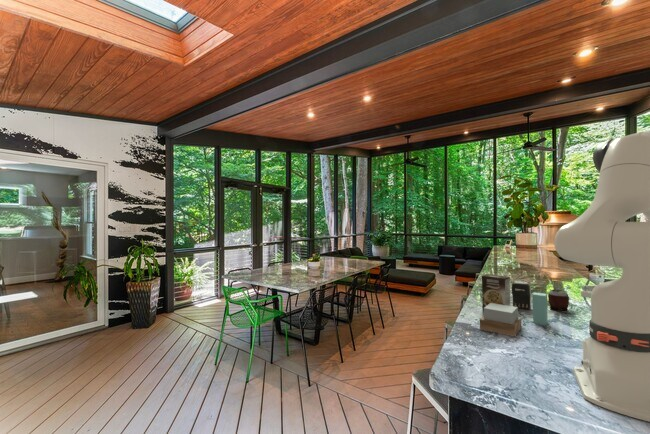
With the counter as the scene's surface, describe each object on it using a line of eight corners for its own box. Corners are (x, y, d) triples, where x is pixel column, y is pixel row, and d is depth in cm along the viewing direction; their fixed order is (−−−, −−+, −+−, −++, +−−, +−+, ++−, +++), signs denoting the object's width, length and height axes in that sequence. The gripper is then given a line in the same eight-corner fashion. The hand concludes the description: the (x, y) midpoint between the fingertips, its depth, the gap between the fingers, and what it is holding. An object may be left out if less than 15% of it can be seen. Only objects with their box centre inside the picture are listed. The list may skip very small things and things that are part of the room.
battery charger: (511, 307, 133) (510, 282, 133) (513, 305, 136) (512, 280, 136) (530, 310, 128) (529, 284, 128) (531, 308, 131) (530, 282, 131)
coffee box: (481, 313, 126) (480, 275, 126) (487, 310, 130) (486, 273, 130) (506, 318, 119) (504, 278, 119) (511, 314, 123) (510, 276, 124)
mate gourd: (570, 312, 124) (569, 276, 124) (547, 310, 128) (546, 275, 129) (567, 308, 131) (566, 273, 131) (545, 305, 135) (544, 272, 135)
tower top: (512, 324, 103) (512, 312, 103) (483, 318, 109) (483, 308, 109) (518, 318, 109) (517, 307, 109) (490, 313, 116) (490, 302, 116)
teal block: (546, 325, 110) (545, 295, 111) (533, 323, 113) (532, 294, 113) (547, 322, 113) (546, 293, 113) (535, 320, 116) (534, 292, 116)
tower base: (514, 337, 101) (514, 326, 101) (479, 330, 109) (479, 319, 109) (521, 328, 109) (521, 317, 109) (488, 322, 117) (488, 312, 117)
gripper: (635, 280, 104) (582, 276, 113) (640, 293, 89) (579, 287, 98) (635, 298, 104) (583, 293, 113) (641, 314, 89) (580, 306, 98)
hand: (581, 290), depth 105 cm, fingers open, 8 cm apart
